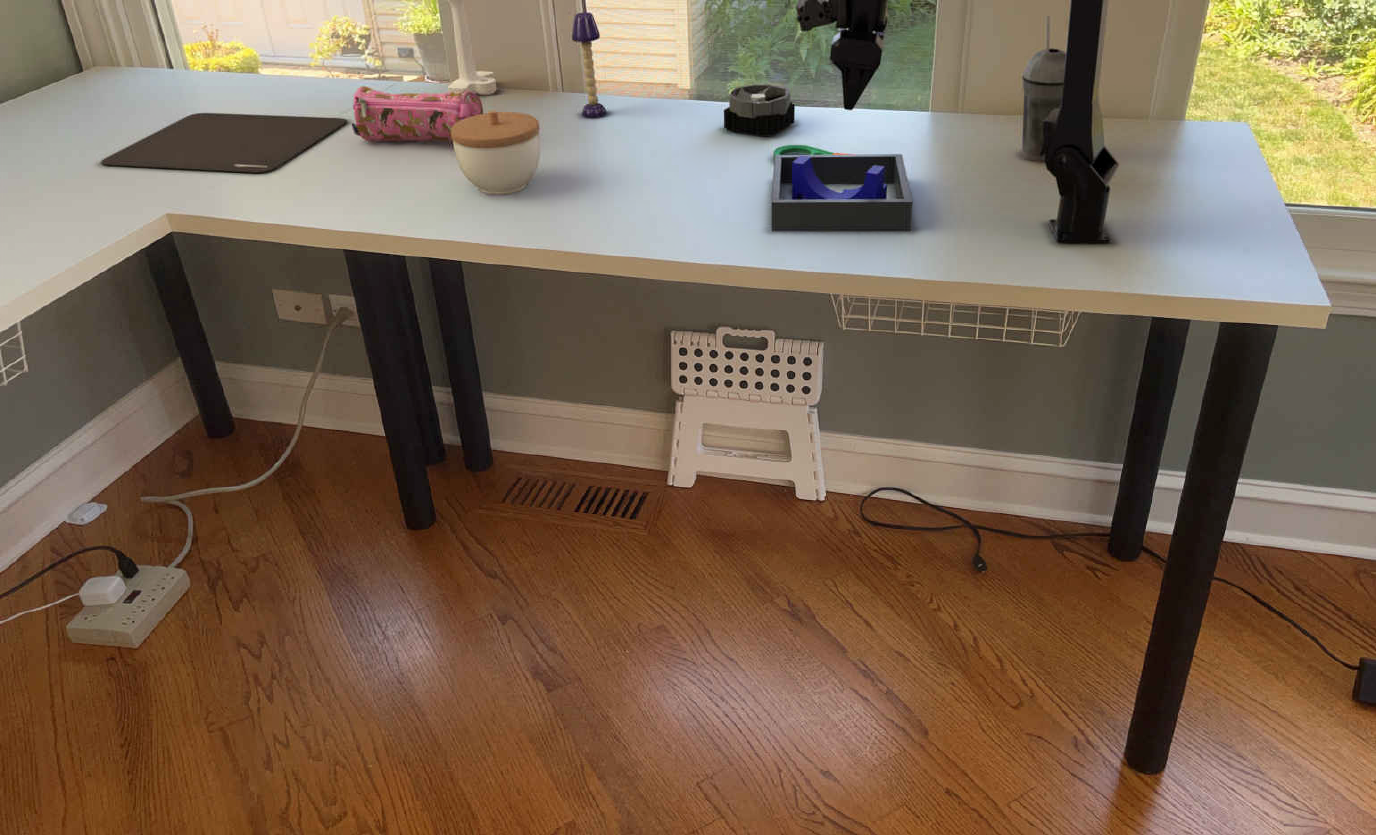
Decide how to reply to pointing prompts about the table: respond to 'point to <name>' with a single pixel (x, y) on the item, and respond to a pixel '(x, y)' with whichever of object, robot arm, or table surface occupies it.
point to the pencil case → (411, 114)
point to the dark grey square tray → (842, 210)
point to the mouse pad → (226, 142)
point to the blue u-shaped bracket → (812, 189)
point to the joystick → (467, 58)
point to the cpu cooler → (759, 110)
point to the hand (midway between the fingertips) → (850, 97)
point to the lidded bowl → (497, 150)
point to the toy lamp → (588, 60)
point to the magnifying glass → (804, 150)
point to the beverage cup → (1041, 95)
